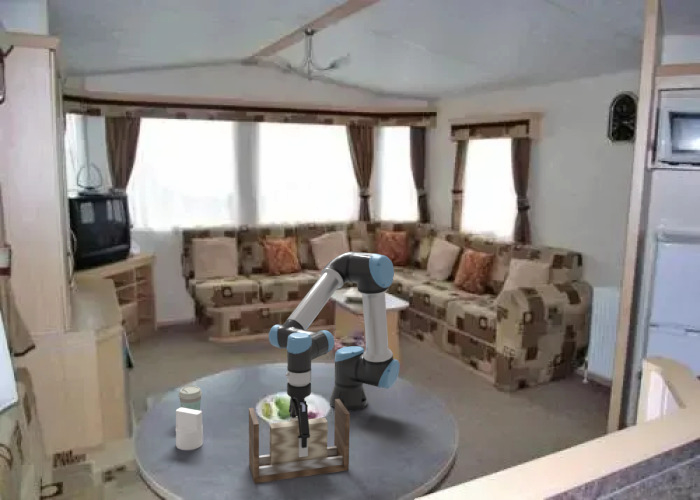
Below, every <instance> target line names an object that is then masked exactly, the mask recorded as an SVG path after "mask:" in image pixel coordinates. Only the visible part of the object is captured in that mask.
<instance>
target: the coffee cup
mask: <svg viewBox="0 0 700 500" xmlns="http://www.w3.org/2000/svg"><path fill="white" fill-rule="evenodd" d="M202 395H203V391H202V389H201V388H200V387H199V386H197V385H195V386H194V385H188V386H184V387H181V389H180V390H179V392H178V396H177V397H179V403H180V408H181V407H182V408H188V409H193V410H199V411H201V400H202Z"/></svg>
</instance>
